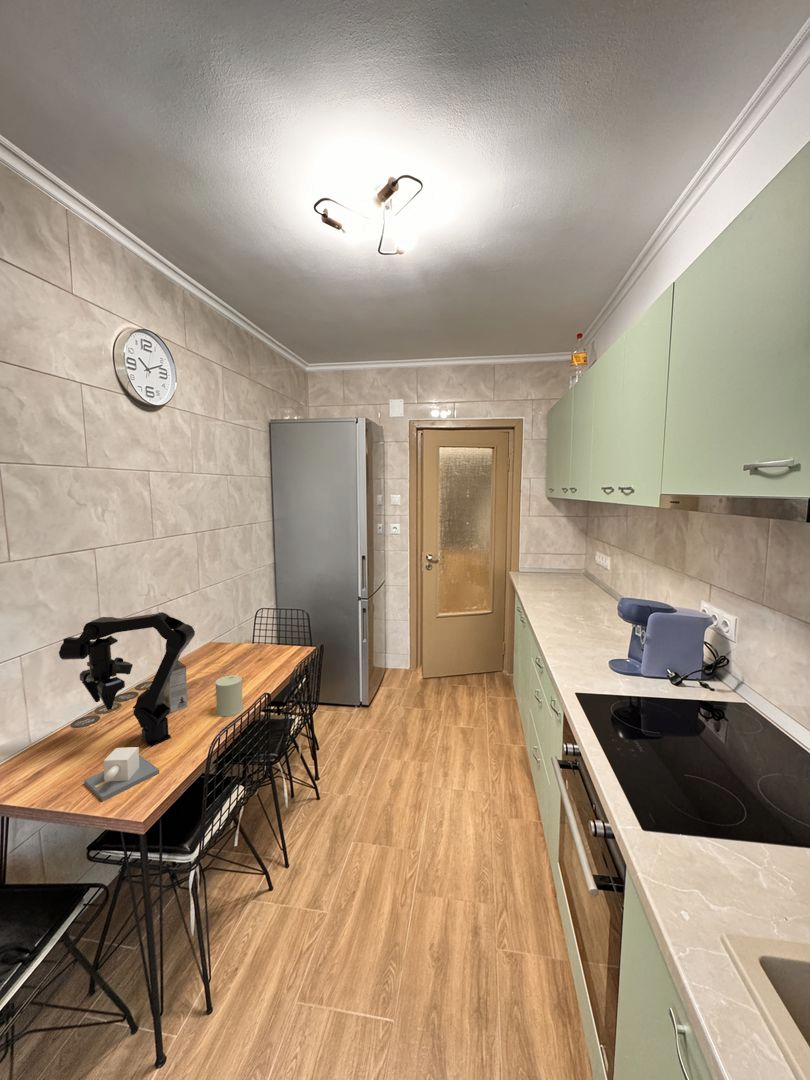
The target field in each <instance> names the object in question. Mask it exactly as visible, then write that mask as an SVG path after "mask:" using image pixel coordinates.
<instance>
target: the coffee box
mask: <svg viewBox="0 0 810 1080" xmlns="http://www.w3.org/2000/svg"><path fill="white" fill-rule="evenodd" d="M187 679H188V678H187V666H186V665H185V664H184V663H182V662H181V661H180V660H178V661H177V663H176V665H175V668H174V670H173V672H172V674H171V676H170V679H169V681H168V683H167V685H166V687H165V689H164V700H163V703H164V704H166V705H167V706H168V707H169V708H170V712H169V713H173V712H177V711H180V710H182V708H183V709H185V707H186V708H188V681H187Z"/></svg>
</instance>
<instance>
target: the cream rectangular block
mask: <svg viewBox="0 0 810 1080" xmlns="http://www.w3.org/2000/svg"><path fill="white" fill-rule="evenodd" d="M139 755H140V748H139V746H137V747H135V746H134V747H115V748H114V749H113V750H112V752H110V754H109V755H108V756H107V757H106V758H105V759H104V760H103V771H104V780H105V782H109V781H128V780H129V779H130V778H131V777H132V775H133V774H134V773H135V772H136V771H137V769H138V768H139Z"/></svg>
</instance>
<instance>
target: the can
mask: <svg viewBox="0 0 810 1080" xmlns="http://www.w3.org/2000/svg"><path fill="white" fill-rule="evenodd" d="M214 684H215V701H216V711H215V712H216V714H217V716H220V717H232V716H235V715H238V714H240V713H241V712H242V711H243V710H244V705H243V704H244V703H243V678H242V676H240V675H235V674H233V675H226V676H222V677H220V678H218V679H216V680H215V683H214Z"/></svg>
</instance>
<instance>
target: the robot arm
mask: <svg viewBox="0 0 810 1080" xmlns="http://www.w3.org/2000/svg"><path fill="white" fill-rule="evenodd" d="M151 628H153V629H155V630H156V631H157V632H158V634H159V636H161V638H163V639H164V640H166V643H165V652H164V656H163V657H162V659H161V663H160V664H159V666H158V668H157V671H156V673H155V675H154V677H153V680H152V682H151V684H150V687H149V688H147V689H146V690H145V691H143V692H142V693H141V694H139V695H138V697H137V699H136V702H135V704H134V706H133V707H132V709H133V715H134V717H135V719H136V720H137V722H138V723H139V726H140V728H141V741H142V742H143V743H145V744H146V745H148V746H149V747H152V746H155V745H158V744H160V743H163V742H164V741H167V740H169V739H171V738H172V735H170V734H169V719H168V717H167V716H169V715H170V713H171V712H170V708H169V707H168V706H167V705H166V704H164V703H163V700H164V689H165V687H166V685H167V683H168V681H169V679H170V676H171V674H172V672H173V670H174V668H175V665H176V663H177V661H179V658H180V656H181V654H182V653H183V652H184V651H185V649H186V648H187V646H189V644H190V643H191V641H192V640H193V638H194V637H195V634H196V631H195V629H194V628H193V626H192V625H190V624H187V623H185V622H184V621H182V620H180V619H178V618H175V617H172V616H170V615H168V614H167V613H166V612H158V613H151V614H144V615H136V616H131V617H123V618H119V617H114V616H101V617H97V618H95V619H93V620H91V621H89V622H87V623H85V625H84V626H83V629H82V630H83V631H82V633H81V634H80V635H79V637H73V636H67V637H66V638H63V641H62V642H63V643H62V644H61V646H60V648H59V651H58V656H59V658H60V660H62V661H63V660H83V659H86V658H87V657H88V662H86V666H87V667H89V668H87V669H85V670H82V671H81V672H80V674H79V681H81V683H82V684H83V686H84V687H85V689H86V691H87V692H88V693H89V694H90V696H91V697H92V699H93V701H94V703H98V702H101V701H102V703H103V705H104V706H105V708H106V710H107V711H110V710H112V708H113V706H114V702H115V699H116V695H117V693H119V691H122V690H123V689H124V688H125V687H126V683H125V680H123V679H121V678H119V677H118V676H117V674H121V675H122V674H123V675H130V674H131V671H132V668H133V666H134V665H133V664H132V663H130V662H128V661H124V658H122V657H119V656H118V657H115V658H114V659H112V651H111V650H112V647H111V646H112V645H114V644H116V643H117V642H118V641H119V640H118V639H117V638H115V637H113V636H112V635H113V634H117V633H122V632H128V631H135V630H144V629H151ZM107 636H108V637H107ZM111 677H112V678H111Z"/></svg>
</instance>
